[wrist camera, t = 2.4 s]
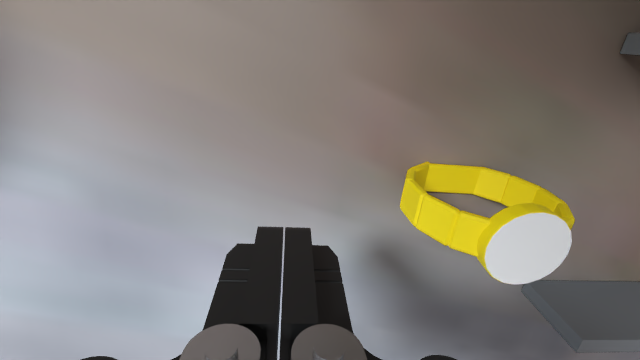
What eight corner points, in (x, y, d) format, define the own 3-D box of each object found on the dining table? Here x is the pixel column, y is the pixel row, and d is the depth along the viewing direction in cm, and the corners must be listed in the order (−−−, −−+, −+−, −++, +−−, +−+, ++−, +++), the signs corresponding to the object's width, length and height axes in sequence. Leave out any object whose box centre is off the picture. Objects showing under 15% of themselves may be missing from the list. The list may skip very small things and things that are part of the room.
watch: (384, 197, 16) (419, 279, 11) (395, 143, 15) (440, 203, 10) (503, 208, 16) (596, 293, 11) (522, 155, 15) (636, 221, 10)
